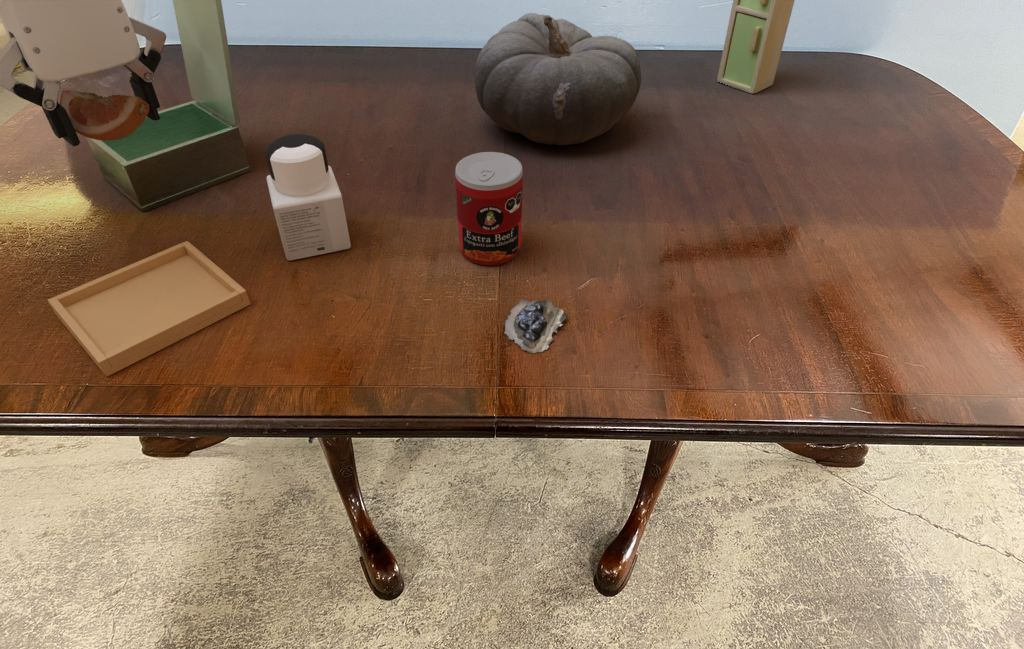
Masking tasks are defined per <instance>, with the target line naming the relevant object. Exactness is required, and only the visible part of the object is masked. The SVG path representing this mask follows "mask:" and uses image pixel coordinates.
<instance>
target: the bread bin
mask: <svg viewBox="0 0 1024 649" xmlns="http://www.w3.org/2000/svg"><path fill="white" fill-rule="evenodd" d="M157 111H158V114H159V116H160V119H159V120H156V121H155V120H152V119H150V118H149V117H147V116H146V118H145V120H144V121H143V123H142V124H141V125H140V126H139V127H138V128H137V129H136V130H135V131H134V132H133V133H132V134H130V135H129V136H127V137H124V138H121V139H117V140H108V141H103V140H96V139H91V138H88V137H86V136H85V138H86V141H87V143H88V145H89V147H90V150H91V152H92V154H93V156H94V159H95V161H96V163H97V165H98V167H99V170H100V173H101V174H102V176H103V179H104V180H105V181H106V182H107V183H108V184H110V185H111V186H112V187H113V188H114V189H116V190H117V191H118V192H119V193H121V194H122V196H124V197H125V198H126V199H127V200H128V201H130V202H131V203H132V204H133V205H134V206H135V207H136V208H137V209H139V210H140V211H141V212H142V213H145V212H149V211H151V210H153V209H156V208H159V207H161V206H164V205H167V204H169V203H171V202H174V201H176V200H179V199H182V198H184V197H187V196H190V195H192V194H195V193H197V192H200V191H203V190H206V189H208V188H210V187H213V186H215V185H217V184H220V183H224V182H226V181H229V180H232V179H234V178H237V177H239V176H242V175H245V174H247V173H250V172H251V167H250V164H249V160H248V156H247V153H246V150H245V146H244V143H243V138H242V135H241V132H240V127H239V126H238V125H237V124H234V123H232V122H231V121H229V120H228V119H226V118H224V117H223V116H221V115H219V114H218V113H216V112H214V111H213V110H211V109H210V108H208V107H206V106H205V105H203V104H201V103H200V102H198V101H196V100H195V99H193V100H191V101H188V102H184V103H181V104H178V105H175V106H171V107H168V108H164V109H161V110H157Z"/></svg>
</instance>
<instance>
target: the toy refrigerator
mask: <svg viewBox="0 0 1024 649" xmlns="http://www.w3.org/2000/svg"><path fill="white" fill-rule="evenodd" d="M795 1H796V0H732V5H731V10H730V15H729V19H728V23H727V30H726V34H725V35H726V36H725V39H724V44H723V49H722V53H721V59H720V64H719V69H718V72H717V79H716V82H717V81H718V82H717V83H719V82H720V83H719V84H721V83H723V84H722V85H724V84H725V86H727V85H728V87H730V86H731V88H734V89H736V90H739V91H742V92H745V93H748V94H751V95H752V94H753V95H754V94H757V93H759V92H761V91H763V90H766V89H767V88H769V87H772V85H773V84H774V82H775V77H776V74H777V70H778V66H779V63H780V57H781V55H782V50H783V47H784V44H785V40H786V35H787V32H788V28H789V24H790V21H791V20H790V19H791V16H792V12H793V9H794V4H795Z"/></svg>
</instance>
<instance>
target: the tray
mask: <svg viewBox="0 0 1024 649" xmlns="http://www.w3.org/2000/svg"><path fill="white" fill-rule="evenodd" d="M47 302H48V304H49V305H50V307H51V309H52V310H53V313H54V314H55V316H56V317H58V319H59V320H60V322H61V323H62V324H63V325H64V326H65V327H66V329H67V330H68V331H69V332H70V334H71V336H72V337H74V339H75V341H77V342H78V344H79V345H80V346H81V348H82V349H83V350H84V351H85V352H86V353H87V355H88V356H89V357H90V359H91V360H92V361H93V362H94V363H95V365H96V366H97V367H98V368H99V370H100V371H101V372H102V373H103V375H104V376H105V377H109V376H111V375H113V374H115V373H117V372H119V371H122V370H123V369H126V368H128V367H129V366H131V365H133V364H135V363H137V362H139V361H141V360H143V359H145V358H147V357H149V356H151V355H153V354H155V353H157V352H159V351H161V350H163V349H166V348H167V347H169V346H172V345H173V344H175V343H177V342H179V341H180V340H183V339H185V338H187V337H189V336H191V335H193V334H195V333H197V332H199V331H200V330H202V329H205V328H206V327H209V326H211V325H213V324H214V323H215V324H216V322H218V321H220V320H223V319H225V318H227V317H228V316H231V315H232V314H234V313H236V312H238V311H240V310H242V309H245V308H246V307H248V306H251V301H250V298H249V295H248V293H247V290H246V289H245V288H244V287H243V286H241V285H240V284H239V283H238V282H237V281H236V280H234V279H233V278H232V277H231V276H230V275H229V274H227V273H226V272H225V271H224V270H223V269H222V268H220V267H219V266H218V265H217V264H216V263H214V262H213V261H212V260H211V259H210V258H209V257H207V256H206V255H205V254H204V253H203V252H201V251H200V250H199V249H198V248H197V247H196V246H194V245H193V244H192V242H191V243H190V242H189V241H188V240H186V241H184V242H181V243H178V244H176V245H173V246H171V247H169V248H167V249H164V250H161V251H160V252H157V253H155V254H152V255H150V256H148V257H145V258H143V259H141V260H138V261H136V262H134V263H130V264H128V265H126V266H124V267H121V268H119V269H117V270H114V271H113V272H110V273H107V274H105V275H103V276H100V277H98V278H95V279H93V280H90V281H88V282H86V283H84V284H80V285H79V286H77V287H74V288H72V289H69V290H67V291H65V292H62V293H60V294H57V295H55V296H53V297H50V298H48V299H47Z"/></svg>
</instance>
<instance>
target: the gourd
mask: <svg viewBox="0 0 1024 649" xmlns="http://www.w3.org/2000/svg"><path fill="white" fill-rule="evenodd" d="M474 66H475V67H474V88H475V93H476V98H477V101H478V103H479V106H480V108H481V109H482V111H483V112H484V113H485V114H486V115H487V116H488V117H489V118H490V119H491V120H492V121H493V122H494V123H495V124H496V125H497V126H499V127H500V128H502V129H503V130H504V131H508V132H510V133H517V134H518V133H519V134H520V135H523V136H524V137H525V138H526V139H527V140H529V141H532V142H535V143H539V144H544V145H547V146H549V145H550V146H551V145H556V146H569V145H578V144H581V143H584V142H587V141H589V140H592V139H593V138H596V137H599V136H602V135H604V134H605V133H606V132H608V131H609V130H610V129H611V128H612V127H614V125H615V124H616V123H617V122H618V121H620V120H621V119H622V118H623V117H624V116H625V115H626V114H627V113H628V112H629V111H630V110H631V108H632V107H633V105H634V104H635V102H636V100H637V97H638V96H639V92H640V89H641V85H642V70H641V63H640V60H639V56H638V52H637V51H636V49H635V47H634V46H633V45H632V44H631V43H630V42H628V41H627V40H625V39H623V38H621V37H617V36H613V35H597V36H596V35H595V36H593V35H592V34H591V33H590V32H589V31H587V30H586V29H584V28H582V27H580V26H577V25H576V24H574V23H573V22H570V21H569V20H567V19H563V18H557V19H555V18H554V17H552V16H551V15H549V14H548V15H547V14H539V13H537V12H528V13H525V14H523V15H522V16H520V17H519V18H518V19H517V20H514V21H512V22H510V23H508V24H506V25H505V26H503V27H501V29H500V30H498V32H496V33H495V34H494V35H492V36H491V37H490V38H488V40H487V42H486V43H485V44H484V46H483V47H482V48H481V50H480V52H479V53H478V56H477V58H476V61H475V65H474Z"/></svg>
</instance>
